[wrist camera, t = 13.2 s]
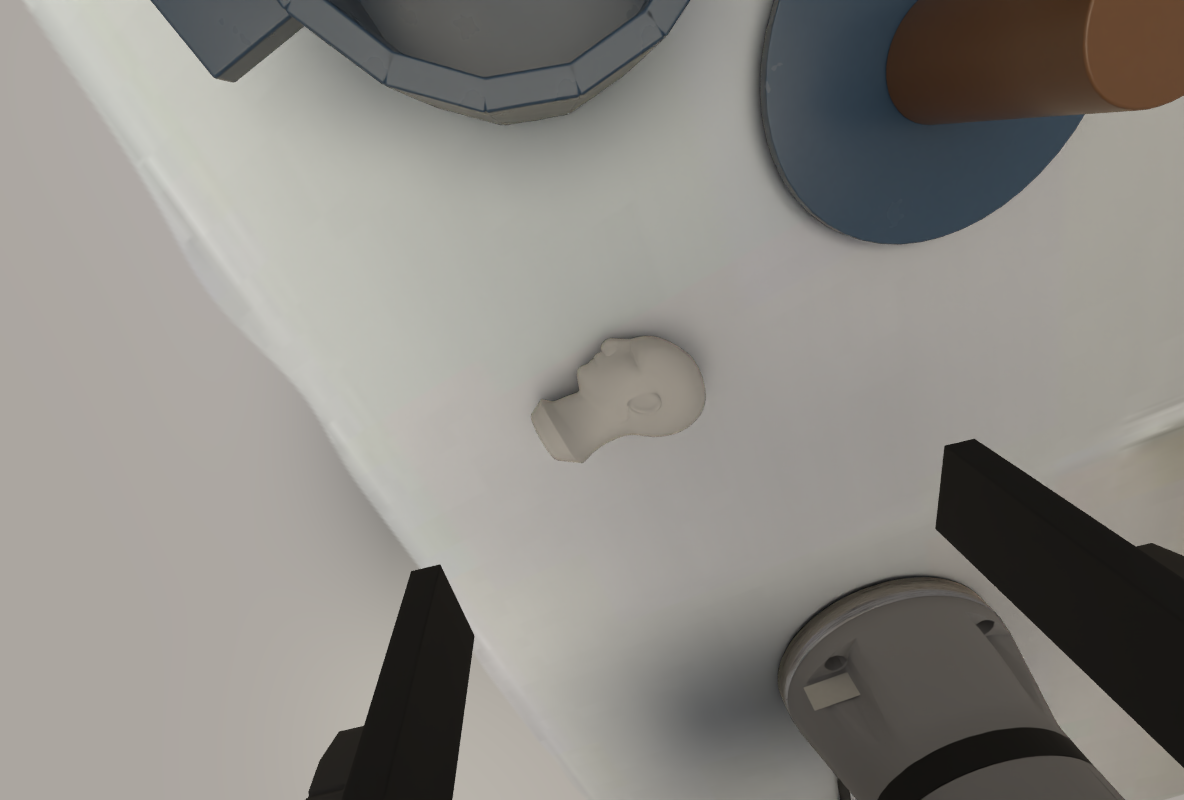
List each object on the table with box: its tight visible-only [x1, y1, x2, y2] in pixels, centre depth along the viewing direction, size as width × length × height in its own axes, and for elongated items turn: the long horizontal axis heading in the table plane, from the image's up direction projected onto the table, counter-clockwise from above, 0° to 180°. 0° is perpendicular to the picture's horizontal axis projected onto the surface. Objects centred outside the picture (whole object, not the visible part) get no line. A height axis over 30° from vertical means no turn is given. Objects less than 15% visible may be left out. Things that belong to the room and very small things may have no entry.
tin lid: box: [760, 0, 1184, 244], centre depth 16 cm, size 14×14×9 cm
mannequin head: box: [531, 336, 706, 463], centre depth 24 cm, size 4×8×5 cm
